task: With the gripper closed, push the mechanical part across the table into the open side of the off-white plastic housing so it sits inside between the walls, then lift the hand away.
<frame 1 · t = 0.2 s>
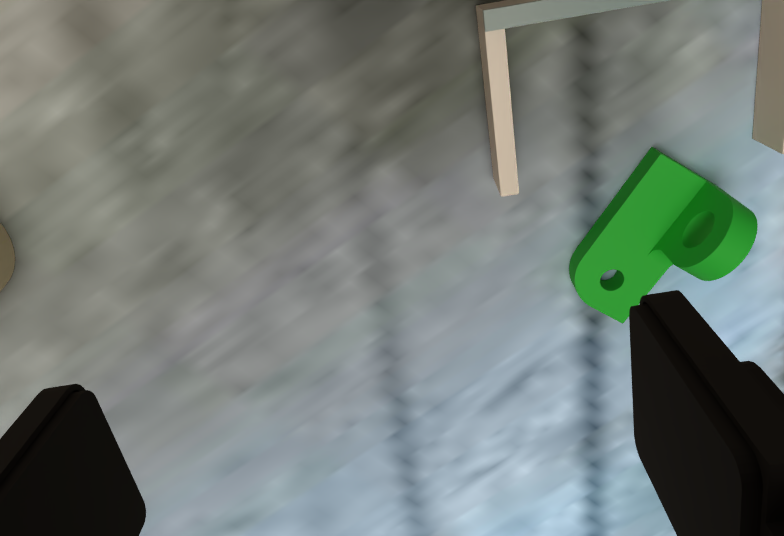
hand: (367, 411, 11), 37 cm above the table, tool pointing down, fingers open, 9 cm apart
mechanical part: (631, 232, 50), on the table
housing: (628, 77, 44), on the table
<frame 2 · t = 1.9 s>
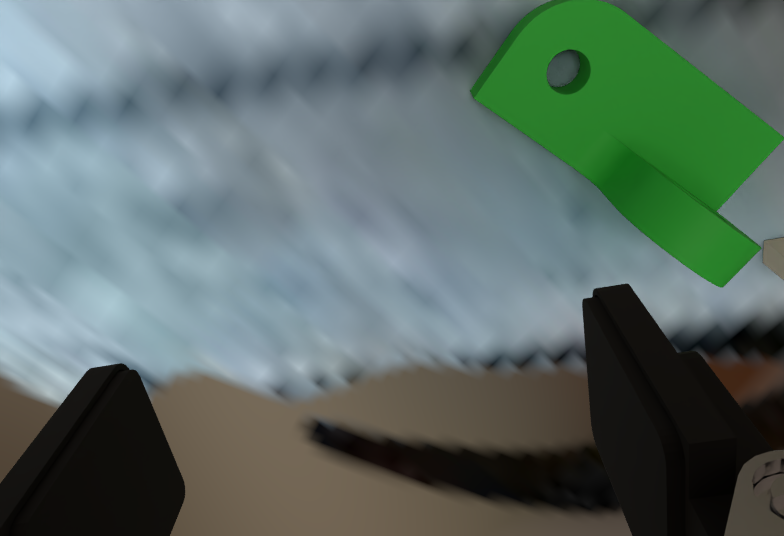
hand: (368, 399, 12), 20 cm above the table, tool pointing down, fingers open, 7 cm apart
mechanical part: (615, 107, 30), on the table
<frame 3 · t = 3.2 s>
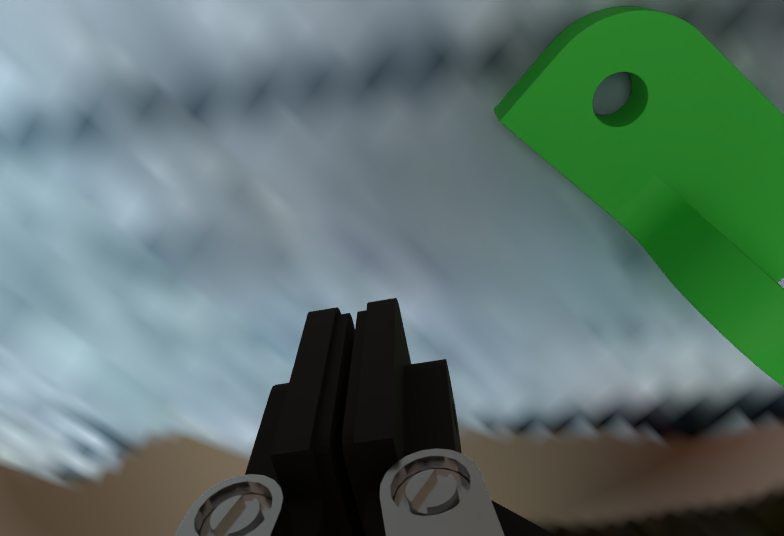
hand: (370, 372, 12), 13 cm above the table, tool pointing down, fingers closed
mechanical part: (667, 146, 24), on the table
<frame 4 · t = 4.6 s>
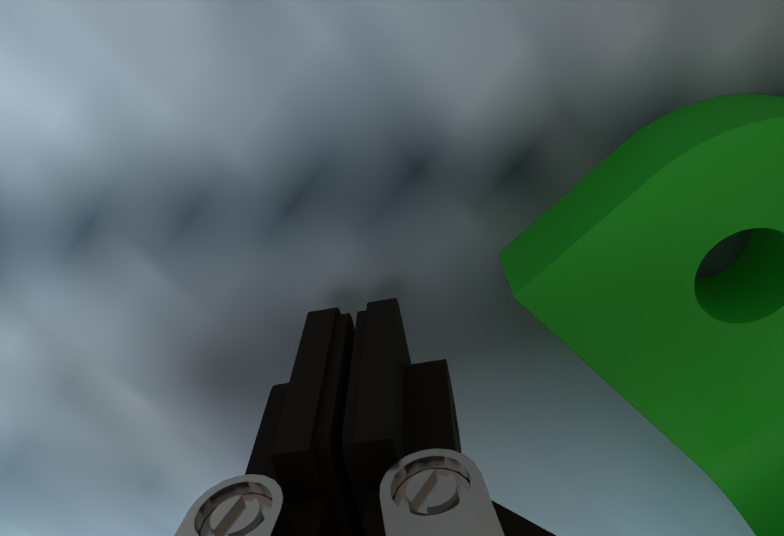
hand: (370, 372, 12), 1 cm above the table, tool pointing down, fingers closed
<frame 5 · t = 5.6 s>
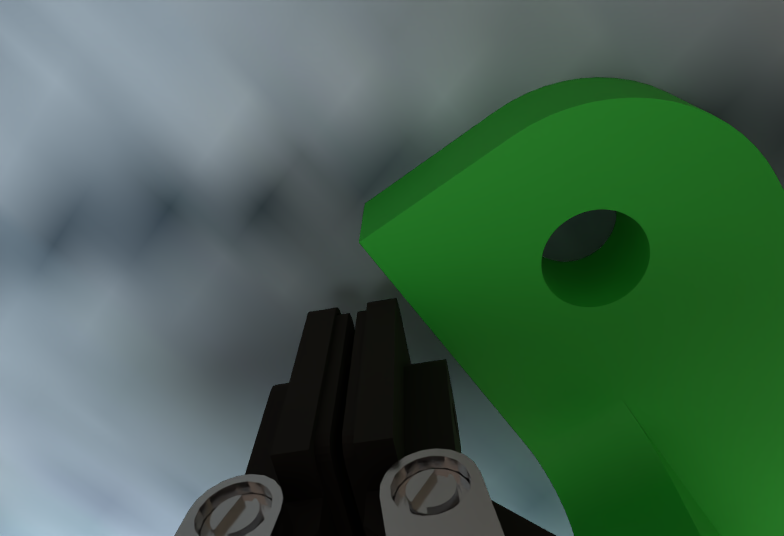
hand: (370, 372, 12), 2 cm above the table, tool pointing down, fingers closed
mechanical part: (645, 333, 14), on the table, touching gripper
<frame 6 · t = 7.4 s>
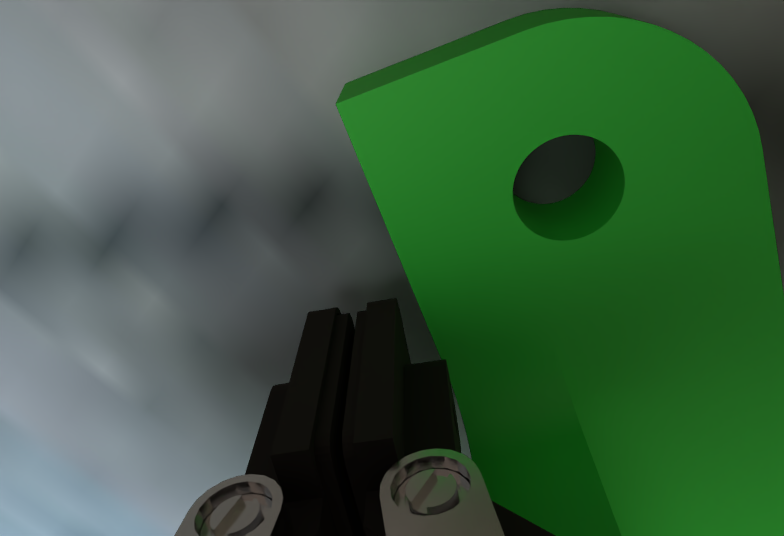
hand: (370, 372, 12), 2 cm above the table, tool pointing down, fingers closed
mechanical part: (585, 299, 14), on the table, touching gripper
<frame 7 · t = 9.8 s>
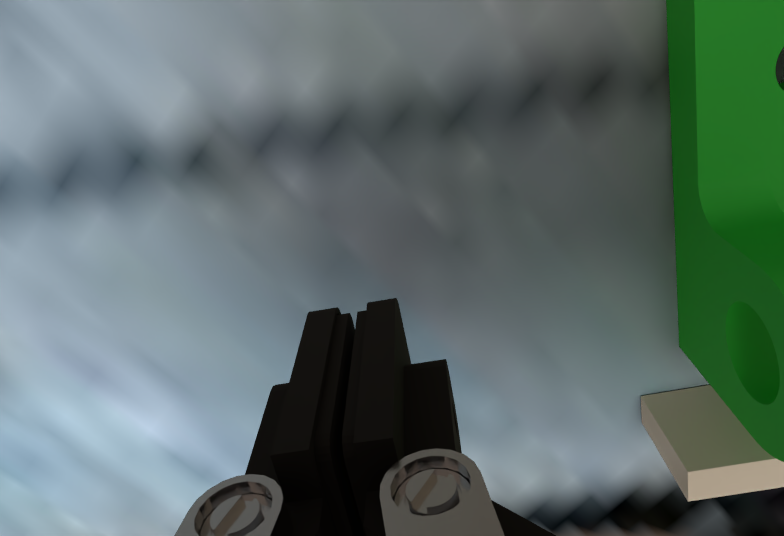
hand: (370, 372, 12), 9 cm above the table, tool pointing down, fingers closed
mechanical part: (763, 163, 21), on the table
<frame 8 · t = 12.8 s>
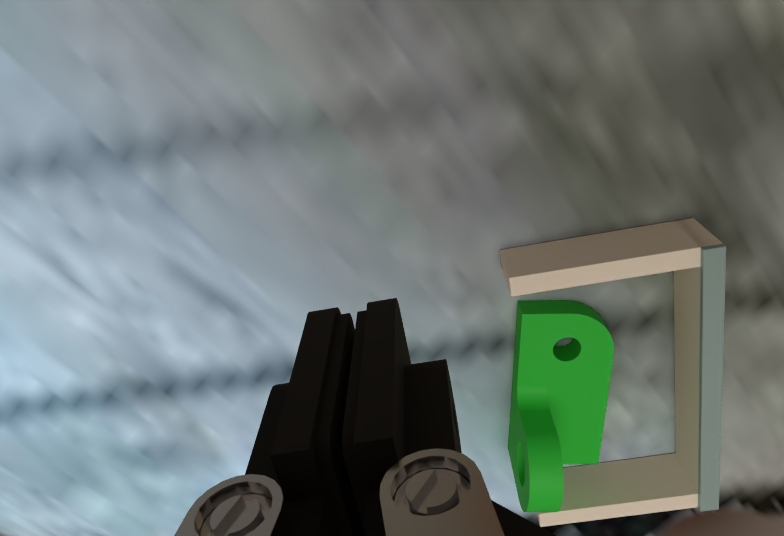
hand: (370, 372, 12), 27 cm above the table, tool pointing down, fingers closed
mechanical part: (555, 374, 45), on the table
housing: (598, 365, 44), on the table
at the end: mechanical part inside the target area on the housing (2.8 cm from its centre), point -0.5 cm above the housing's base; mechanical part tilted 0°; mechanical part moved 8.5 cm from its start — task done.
